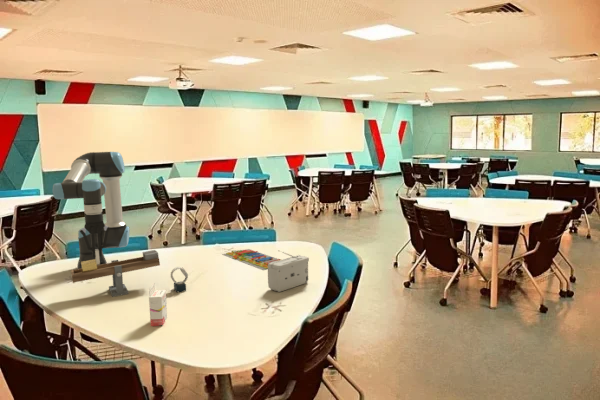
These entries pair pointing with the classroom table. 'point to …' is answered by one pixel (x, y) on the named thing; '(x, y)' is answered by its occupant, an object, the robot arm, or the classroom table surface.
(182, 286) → the watch
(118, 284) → the pivot stand
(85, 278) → the balance beam
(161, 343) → the classroom table surface
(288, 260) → the stereo radio cassette player
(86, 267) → the brass rider
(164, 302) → the ink cartridge box
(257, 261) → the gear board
